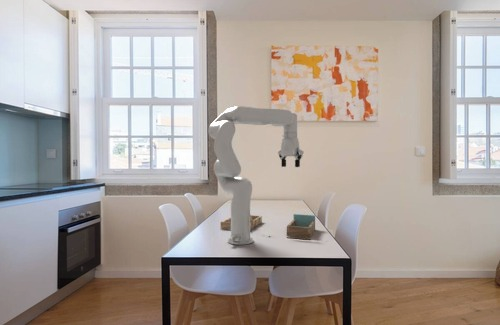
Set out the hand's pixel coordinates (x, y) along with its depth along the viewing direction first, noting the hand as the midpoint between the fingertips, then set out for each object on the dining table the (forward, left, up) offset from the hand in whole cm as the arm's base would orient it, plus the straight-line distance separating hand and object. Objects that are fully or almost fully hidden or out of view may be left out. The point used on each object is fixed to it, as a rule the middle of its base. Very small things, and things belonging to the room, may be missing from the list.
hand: (290, 166), depth 167 cm
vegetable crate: (+7, +31, -36) cm, 48 cm away
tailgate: (+5, -7, -35) cm, 36 cm away
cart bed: (-4, -7, -36) cm, 37 cm away
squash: (+7, +31, -37) cm, 49 cm away
